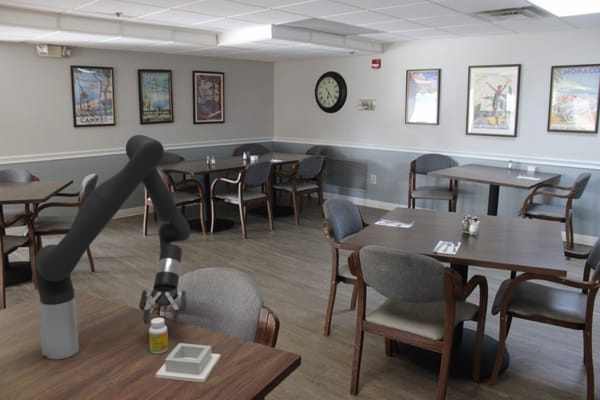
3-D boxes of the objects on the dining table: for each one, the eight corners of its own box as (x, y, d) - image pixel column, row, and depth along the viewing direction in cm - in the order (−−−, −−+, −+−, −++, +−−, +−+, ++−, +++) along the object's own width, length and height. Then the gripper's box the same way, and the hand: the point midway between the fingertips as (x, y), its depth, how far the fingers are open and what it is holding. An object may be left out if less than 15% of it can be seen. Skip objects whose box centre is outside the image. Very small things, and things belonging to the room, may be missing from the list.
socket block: (155, 377, 141) (155, 362, 140) (176, 353, 154) (175, 339, 153) (203, 382, 138) (203, 367, 138) (220, 357, 152) (220, 343, 151)
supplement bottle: (149, 355, 153) (148, 325, 151) (150, 346, 158) (148, 317, 156) (168, 352, 154) (167, 323, 152) (168, 344, 159) (166, 315, 158)
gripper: (143, 270, 163) (133, 318, 154) (187, 270, 163) (180, 319, 154) (148, 280, 169) (140, 327, 160) (191, 280, 169) (185, 327, 160)
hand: (160, 323), depth 157 cm, fingers open, 8 cm apart
